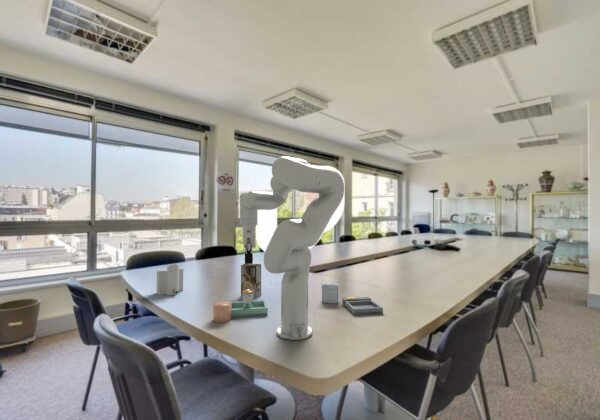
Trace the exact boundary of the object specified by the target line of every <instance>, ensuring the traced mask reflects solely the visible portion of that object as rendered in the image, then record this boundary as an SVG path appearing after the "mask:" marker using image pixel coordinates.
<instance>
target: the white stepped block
mask: <svg viewBox="0 0 600 420" xmlns="http://www.w3.org/2000/svg"><path fill="white" fill-rule="evenodd" d="M179 291H180V292H184V268H183V267H180V264H176V263H175V264H168V265H167V266H166V268H163V269H156V294H157V295H158V296H160V295H166V296H176V295H177V294H178V293H180V292H179Z"/></svg>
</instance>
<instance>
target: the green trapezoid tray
mask: <svg viewBox="0 0 600 420" xmlns="http://www.w3.org/2000/svg"><path fill="white" fill-rule="evenodd" d="M230 302H231V303H232V313H231V319H232V318H245V317H246V318H247V317H248V318H249V317H263V316H265V317H266V316H268V315H269V314H268V304H267V300H265V299H263V300H253V308H246V309H243V301H230Z"/></svg>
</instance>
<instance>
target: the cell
mask: <svg viewBox="0 0 600 420" xmlns="http://www.w3.org/2000/svg"><path fill="white" fill-rule="evenodd" d="M253 301H254V298H253V290H250V289H247V290H244V291H243V297H242V302H243V309H246V308H253Z"/></svg>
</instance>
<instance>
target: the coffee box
mask: <svg viewBox="0 0 600 420" xmlns="http://www.w3.org/2000/svg"><path fill="white" fill-rule="evenodd" d="M247 289H250V290H253V299H255V298H256V299H257V298H259V297H260V296H262V264H261V263H252V264H245V263H243V264H241V265H240V297H242V298H243V291H244V290H247Z"/></svg>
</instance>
